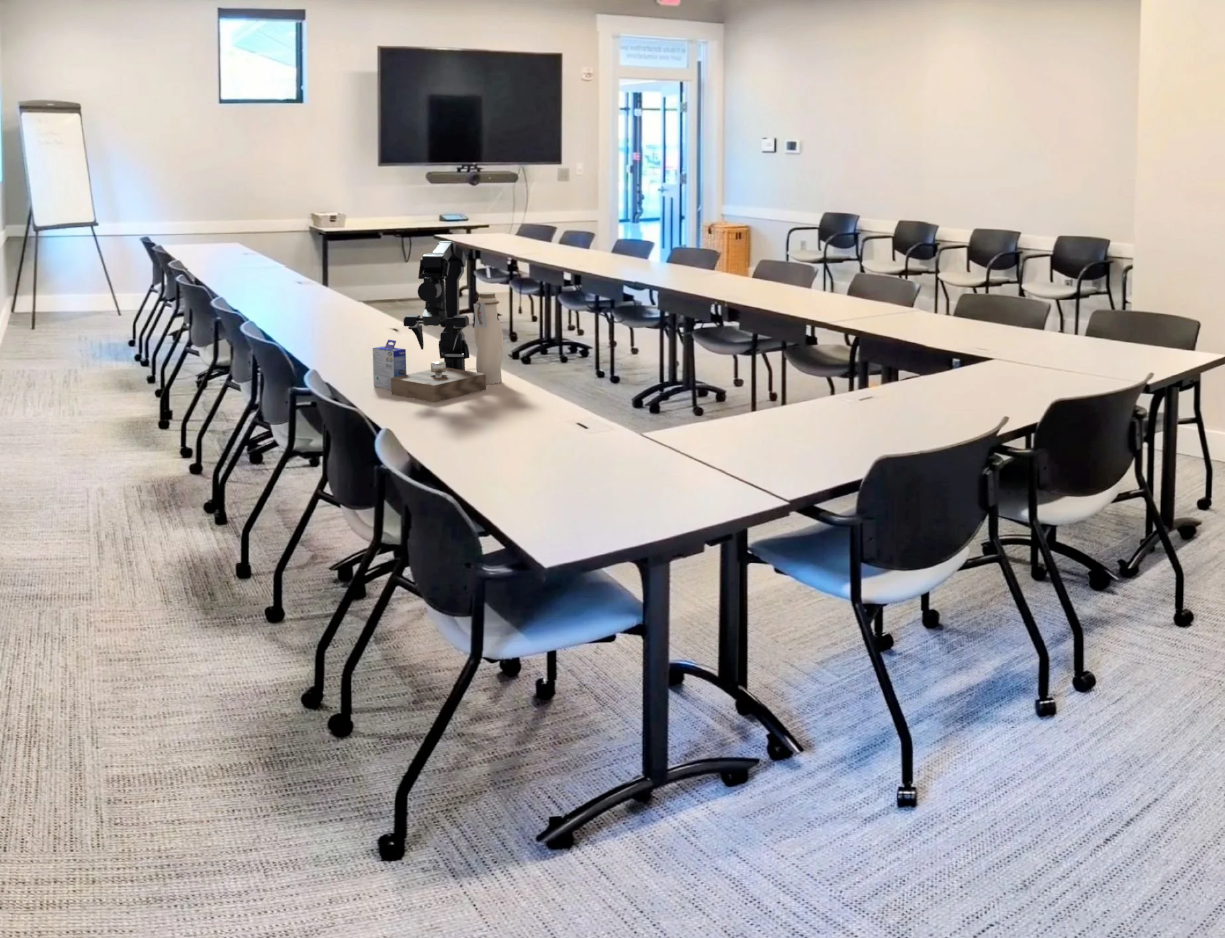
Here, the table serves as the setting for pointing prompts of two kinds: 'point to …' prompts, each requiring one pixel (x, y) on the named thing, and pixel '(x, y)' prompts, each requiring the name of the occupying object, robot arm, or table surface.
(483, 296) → the water bottle
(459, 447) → the table surface
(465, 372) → the press block
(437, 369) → the plunger
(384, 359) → the ink cartridge box
